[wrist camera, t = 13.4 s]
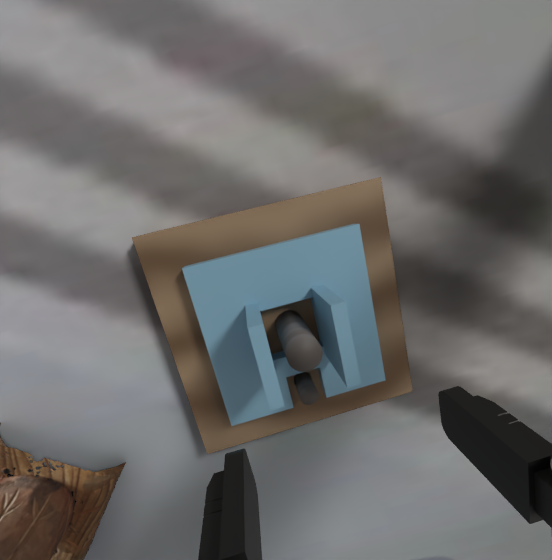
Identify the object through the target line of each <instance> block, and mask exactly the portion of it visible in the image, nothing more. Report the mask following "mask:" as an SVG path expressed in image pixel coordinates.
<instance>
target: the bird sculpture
mask: <svg viewBox="0 0 552 560" xmlns="http://www.w3.org/2000/svg"><path fill="white" fill-rule="evenodd" d="M0 424H1V423H0ZM6 452H8V453H9V454H8V453H6ZM28 456H31V455H29V453H26V452H22V451H20V450H17V449H14V448H9V447H7V446H6V445H5V444H4V442H3V441H2V440H1V438H0V560H83V559H84V557H85V555H86V554H87V551H88V550H89V547H90V545H91V543H92V541H93V540H92V539H93V538H94V535H95V532H96V530H97V528H98V525H99V522H100V520H101V518H102V516H103V514H104V511H105V509H106V507H107V504H108V501H109V500H110V497H111V494H112V492H113V490H114V488H115V485H116V482H117V481H118V478H119V477H120V474H121V471H122V469H123V467H124V465H125V463H126V462H125V463H123V464H121V465H119V466H117V467H113V468H109V469H105V470H101V471H98V472H91V471H90V470H86V471H84V470H83V469H81V468H78V467H73V466H70V465H68V464H64V463H61V462H59V461H58V462H57V461H53V460H50V459H46V458H43V461H42V462H41V461H37V462H35V461H34V460H33V459H32V458H29V457H28ZM32 457H34V456H32ZM31 459H32V460H33V461H32V462H33V463H30V460H31ZM49 461H51V462H49ZM43 462H45V464H46V465H47V467H43V466H44V465H42V463H43ZM49 463H51V465H53V467H54V468H55V469H56V471H54V470H53V469H51V468H50V465H48V464H49ZM31 465H32V467H31ZM56 465H58V466H61V465H63V468H61V467H59V468H58V467H56ZM40 466H41V467H42V468H40V469H39V470H36V469H35V467H40ZM14 467H15V468H16V469H15V470H14ZM29 469H31V472H28V471H27V470H29ZM32 470H33V472H32ZM38 471H40V472H39V474H37V472H38ZM50 471H52V472H51V473H50ZM8 473H9V474H11V475H14V476H10V477H7V474H8ZM36 475H39V476H37V477H36ZM49 479H50V480H49ZM72 491H74V493H73V495H74V496H72V493H71V492H72ZM75 500H77V501H76V503H75V502H74V501H75ZM82 501H83V502H82ZM81 502H82V503H81ZM74 503H75V505H74ZM70 523H71V524H72V525H69V524H70ZM68 526H69V528H68ZM55 551H56V552H55ZM54 552H55V553H54ZM56 555H57V556H56ZM55 556H56V557H55ZM58 558H59V559H58Z"/></svg>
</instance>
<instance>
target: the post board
mask: <svg viewBox="0 0 552 560" xmlns="http://www.w3.org/2000/svg"><path fill="white" fill-rule="evenodd" d="M351 224H360V230H361V236H362V242H363V248H364V254H365V260H366V266H367V272H368V278H369V284H370V290H371V296H372V302H373V308H374V314H375V320H376V326H377V332H378V338H379V344H380V350H381V355H382V361H383V367H384V373H385V379H386V380H385V381H381V382H378V383H375V384H371V385H368V386H365V387H361V388H358V389H355V390H351V391H348V392H344V393H341V394H338V395H334V396H331V397H328V398H327V397H326V395H325V393H324V391H323V389H322V384H321V380H320V376H319V371H318V368H316V367H317V366H318V365H319V363H320V362H321V360H322V356H323V351H322V347H321V346H320V344H319V342H318V341H320V339H319V335H318V330H317V326H316V321H315V317H314V312H313V307H312V303H311V298H308V299H304V300H301V301H297V302H293V303H290V304H286V305H282V306H278V307H275V308H271V309H267V310H264V311H260V313H261V317H262V320H263V324H264V328H265V332H266V336H267V340H268V343H269V347H270V351H271V354H274V353H277V352H281V351H284V353H285V355H286V358H287V361H288V363H289V365H290V366H291V367H292V368H293V369H294V370H296V371H299V372H303V373H299V374H296V375H292V376H289V377H286V379H287V383H288V387H289V391H290V395H291V399H292V403H293V407H294V408H291V409H287V410H284V411H281V412H277V413H274V414H271V415H267V416H264V417H261V418H257V419H254V420H250V421H247V422H244V423H240V424H237V425H234V426H231V423H230V420H229V416H228V413H227V410H226V407H225V404H224V401H223V397H222V394H221V391H220V388H219V385H218V381H217V378H216V375H215V372H214V369H213V366H212V362H211V359H210V356H209V353H208V350H207V347H206V343H205V340H204V337H203V334H202V331H201V328H200V324H199V321H198V318H197V315H196V312H195V309H194V305H193V302H192V299H191V296H190V293H189V290H188V286H187V283H186V280H185V277H184V274H183V270H182V268H183V267H184V266H187V265H191V264H195V263H199V262H203V261H207V260H211V259H215V258H219V257H223V256H227V255H231V254H235V253H239V252H243V251H247V250H251V249H255V248H259V247H263V246H267V245H271V244H275V243H279V242H283V241H287V240H291V239H295V238H299V237H303V236H307V235H311V234H315V233H319V232H323V231H327V230H331V229H335V228H339V227H343V226H347V225H351ZM132 240H133V243H134V245H135V248H136V251H137V254H138V257H139V260H140V263H141V265H142V268H143V271H144V274H145V277H146V280H147V283H148V285H149V288H150V291H151V294H152V297H153V300H154V303H155V306H156V308H157V311H158V314H159V317H160V320H161V323H162V326H163V328H164V331H165V334H166V337H167V340H168V343H169V346H170V348H171V351H172V354H173V357H174V360H175V363H176V366H177V369H178V371H179V374H180V377H181V380H182V383H183V386H184V389H185V391H186V394H187V397H188V400H189V403H190V406H191V409H192V411H193V414H194V417H195V420H196V423H197V426H198V429H199V432H200V434H201V437H202V440H203V443H204V446H205V449H206V452H207V454H209V453H213V452H216V451H219V450H223V449H226V448H229V447H232V446H236V445H239V444H242V443H245V442H249V441H252V440H255V439H259V438H262V437H265V436H268V435H272V434H275V433H278V432H281V431H285V430H288V429H291V428H295V427H298V426H301V425H304V424H308V423H311V422H314V421H317V420H321V419H324V418H327V417H331V416H334V415H337V414H340V413H344V412H347V411H350V410H353V409H357V408H360V407H363V406H367V405H370V404H373V403H376V402H380V401H383V400H386V399H389V398H393V397H396V396H399V395H403V394H406V393H409V392H412V384H411V377H410V370H409V364H408V357H407V350H406V343H405V337H404V330H403V323H402V317H401V310H400V303H399V296H398V290H397V283H396V276H395V269H394V263H393V256H392V249H391V242H390V236H389V229H388V222H387V215H386V209H385V202H384V195H383V189H382V182H381V177H379V178H375V179H371V180H367V181H363V182H359V183H355V184H350V185H346V186H342V187H338V188H334V189H330V190H326V191H322V192H317V193H313V194H309V195H305V196H301V197H297V198H293V199H289V200H284V201H280V202H276V203H272V204H268V205H264V206H260V207H256V208H251V209H247V210H243V211H239V212H235V213H231V214H227V215H223V216H218V217H214V218H210V219H206V220H202V221H198V222H194V223H190V224H185V225H181V226H177V227H173V228H169V229H165V230H161V231H157V232H152V233H148V234H144V235H140V236H136V237H132ZM314 368H316V369H314Z"/></svg>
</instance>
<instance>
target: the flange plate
mask: <svg viewBox="0 0 552 560" xmlns="http://www.w3.org/2000/svg"><path fill="white" fill-rule="evenodd" d="M182 270H183V274H184V277H185V280H186V283H187V286H188V290H189V293H190V296H191V299H192V302H193V305H194V309H195V312H196V315H197V318H198V321H199V324H200V328H201V331H202V334H203V337H204V340H205V343H206V347H207V350H208V353H209V356H210V359H211V362H212V366H213V369H214V372H215V375H216V378H217V381H218V385H219V388H220V391H221V394H222V397H223V401H224V404H225V407H226V410H227V413H228V416H229V420H230V423H231V426H234V425H237V424H240V423H244V422H247V421H250V420H254V419H257V418H261V417H264V416H267V415H271V414H274V413H277V412H281V411H284V410H287V409H291V408H294V407H293V403H292V399H291V395H290V391H289V387H288V383H287V379H286V377H289V376H292V375H296V374H299V373H303V372H299V371H296V370H294V369H293V368H292V367H291V366H290V365H289V363H288V361H287V358H286V355H285V353H284V351H281V352H277V353H274V354H271V351H270V347H269V343H268V340H267V336H266V332H265V328H264V324H263V320H262V317H261V313H260V311H264V310H267V309H271V308H275V307H278V306H282V305H286V304H290V303H293V302H297V301H301V300H304V299H308V298H311V303H312V307H313V312H314V317H315V321H316V326H317V330H318V335H319V339H320V341H318V342H319V344H320V346H321V347H322V351H323V356H322V360H321V362H320V363H319V365H318V366H317V367H316V368H318V371H319V376H320V380H321V384H322V389H323V391H324V393H325V395H326V397H327V398H328V397H331V396H334V395H338V394H341V393H344V392H348V391H351V390H355V389H358V388H361V387H365V386H368V385H371V384H375V383H378V382H381V381H385V380H386V379H385V373H384V367H383V361H382V355H381V350H380V344H379V338H378V332H377V326H376V320H375V314H374V308H373V302H372V296H371V290H370V284H369V278H368V272H367V266H366V260H365V254H364V248H363V242H362V236H361V230H360V224H351V225H347V226H343V227H339V228H335V229H331V230H327V231H323V232H319V233H315V234H311V235H307V236H303V237H299V238H295V239H291V240H287V241H283V242H279V243H275V244H271V245H267V246H263V247H259V248H255V249H251V250H247V251H243V252H239V253H235V254H231V255H227V256H223V257H219V258H215V259H211V260H207V261H203V262H199V263H195V264H191V265H187V266H184V267H183V268H182ZM316 368H314V369H316Z"/></svg>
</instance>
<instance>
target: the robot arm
mask: <svg viewBox="0 0 552 560" xmlns="http://www.w3.org/2000/svg"><path fill="white" fill-rule="evenodd" d="M439 405H440V413H441V422H442V426H443V429H444V431H445V433H446V435H447V436H448V438H449V439H450V440H451V441H452V443H453V444H454V445H455V446H456V447H457V448H458V449H459V450H460V451H461V452H462V453H463V454H464V455H465V456H466V457H467V458H468V459H469V460H470V461H471V463H472V464H473V465H474V466H475V467H476V468H477V469H478V470H479V471H480V472H481V473H482V474H483V475H484V476H485V477H486V478H487V479H488V480H489V482H490V483H491V484H492V485H493V486H494V487H495V488H496V489H497V490H498V491H499V492H500V493H501V494H502V495H503V496H504V497H505V498H506V499H507V500H508V502H509V503H510V504H511V505H512V506H513V507H514V508H515V509H516V510H517V511H518V512H519V513H520V514H521V515H522V516H523V517H524V518H525V519H526V520H527V522H528V523H529V524H532V523H535V522H538V521H541V520H544V521H545V522H546V523H547V524H548V525H549V526H550V527H551V535H552V444H551V443H550V442H548V441H547V440H545V439H544V438H543V437H541V436H540V435H538V434H537V433H536V432H534V431H533V430H532V429H530V428H529V427H527V426H526V425H525V424H523V423H522V422H519V421H518V419H516V418H515V417H514V416H512V415H511V414H508V413H507V411H505V410H504V409H503V408H501V407H500V406H498V405H497V404H496V403H494V402H492V401H490V400H487V399H485V398H483V397H480V396H474V397H473V396H472V395H471V394H469V393H468V392H467V391H465V390H464V389H463V388H461V387H459V386H457V387H453V388H450V389H446V390H443V391H440V392H439ZM198 560H262V552H261V537H260V522H259V507H258V494H257V488H256V483H255V479H254V476H253V472H252V469H251V466H250V463H249V459H248V456H247V453H246V450H245V449H240V450H237V451H234V452H230V453H227V454H226V455H225V464H224V471H221V472H217V473H214V475H213V477H212V479H211V481H210V483H209V485H208V487H207V492H206V500H205V508H204V518H203V525H202V533H201V542H200V550H199V558H198Z"/></svg>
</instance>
